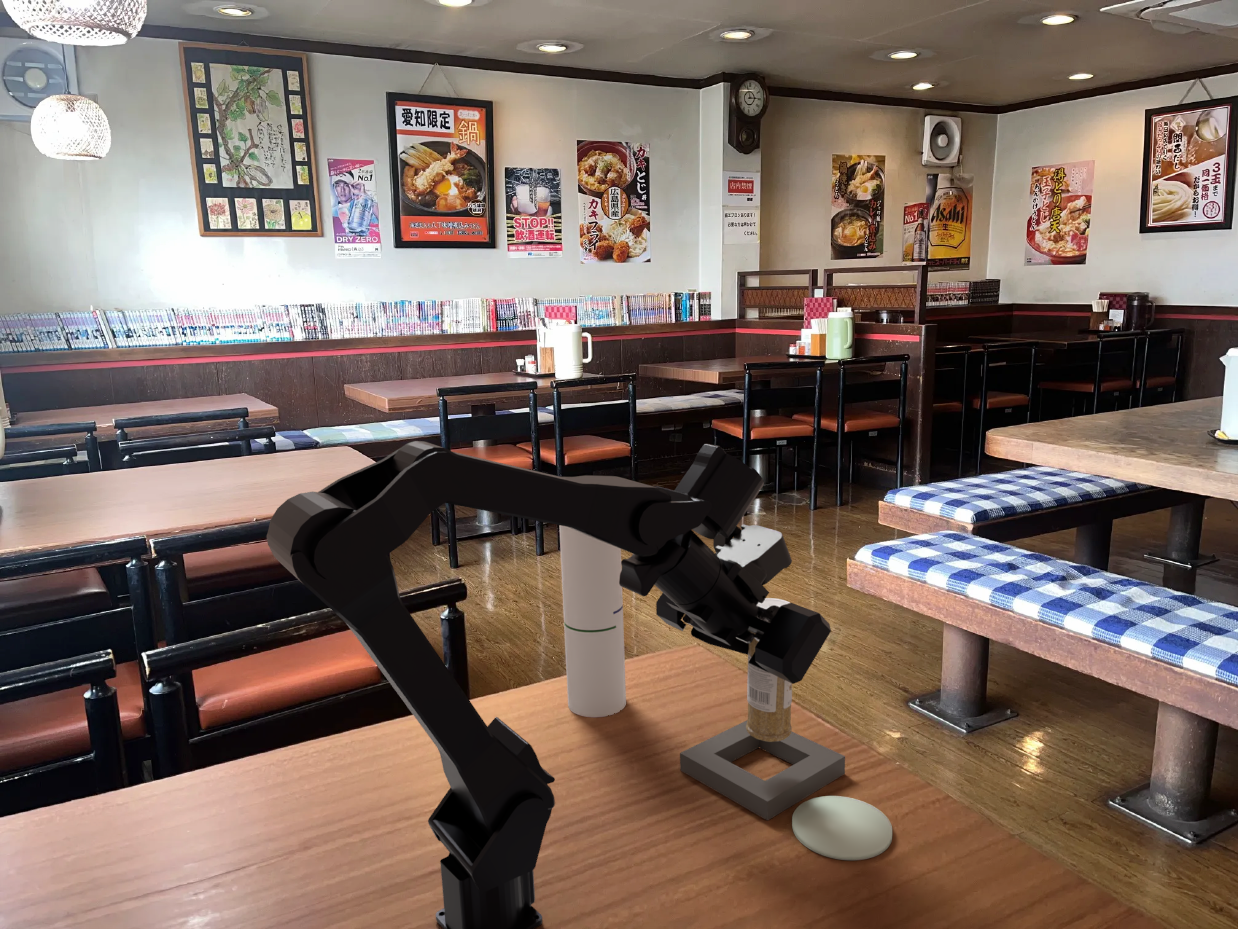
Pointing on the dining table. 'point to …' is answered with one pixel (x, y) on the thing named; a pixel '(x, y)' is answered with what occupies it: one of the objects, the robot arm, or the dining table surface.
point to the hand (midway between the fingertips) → (780, 661)
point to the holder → (750, 791)
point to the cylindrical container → (592, 624)
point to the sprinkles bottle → (768, 696)
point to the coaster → (842, 828)
